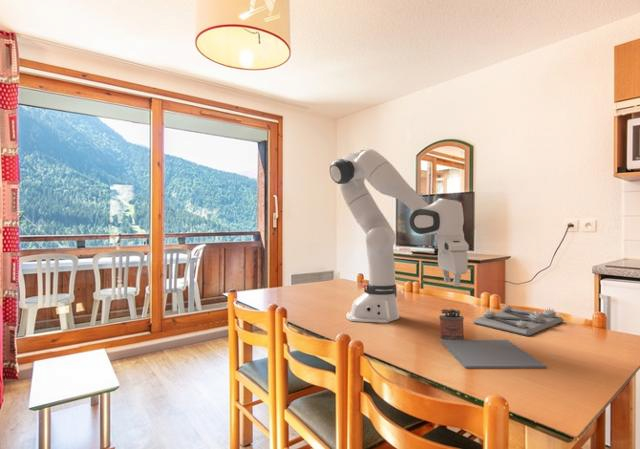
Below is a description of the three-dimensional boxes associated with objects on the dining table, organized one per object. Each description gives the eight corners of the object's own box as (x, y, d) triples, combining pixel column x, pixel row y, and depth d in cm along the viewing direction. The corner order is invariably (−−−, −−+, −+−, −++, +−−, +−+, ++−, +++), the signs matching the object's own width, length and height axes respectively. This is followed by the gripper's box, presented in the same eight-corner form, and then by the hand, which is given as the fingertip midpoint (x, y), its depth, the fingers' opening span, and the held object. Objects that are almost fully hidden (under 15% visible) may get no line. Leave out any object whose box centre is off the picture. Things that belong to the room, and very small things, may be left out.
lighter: (462, 336, 126) (462, 308, 126) (465, 339, 123) (464, 310, 123) (438, 336, 127) (438, 307, 127) (441, 339, 124) (440, 310, 123)
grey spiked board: (510, 312, 159) (509, 296, 159) (565, 323, 142) (564, 305, 142) (471, 324, 142) (471, 306, 142) (528, 338, 124) (528, 318, 124)
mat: (465, 368, 99) (465, 366, 99) (440, 341, 121) (440, 340, 121) (546, 368, 98) (546, 365, 98) (507, 341, 120) (507, 339, 120)
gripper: (433, 242, 135) (433, 279, 135) (451, 246, 115) (452, 289, 115) (449, 242, 135) (450, 279, 135) (471, 245, 114) (472, 288, 114)
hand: (451, 283), depth 125 cm, fingers open, 8 cm apart
